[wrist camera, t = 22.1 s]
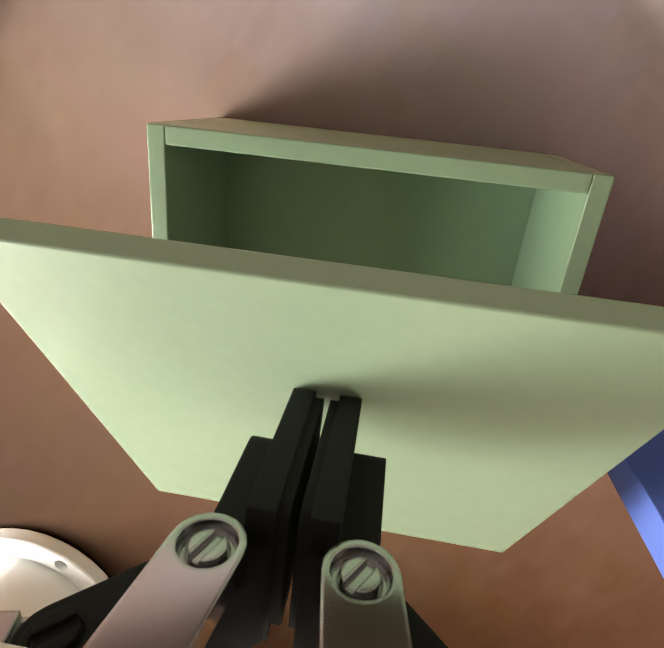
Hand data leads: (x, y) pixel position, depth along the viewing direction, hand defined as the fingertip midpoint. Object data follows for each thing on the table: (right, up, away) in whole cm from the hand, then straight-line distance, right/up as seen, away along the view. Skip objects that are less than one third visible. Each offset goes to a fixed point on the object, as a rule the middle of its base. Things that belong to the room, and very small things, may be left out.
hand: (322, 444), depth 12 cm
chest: (+2, +4, +12) cm, 13 cm away
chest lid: (0, 0, +3) cm, 3 cm away
